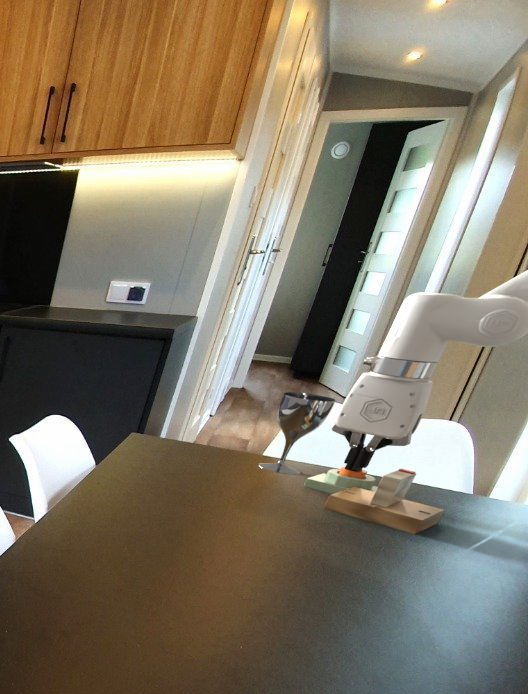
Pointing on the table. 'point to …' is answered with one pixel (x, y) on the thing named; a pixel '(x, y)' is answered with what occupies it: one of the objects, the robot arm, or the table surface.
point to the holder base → (384, 510)
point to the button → (353, 473)
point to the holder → (393, 487)
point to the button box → (339, 482)
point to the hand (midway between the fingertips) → (353, 469)
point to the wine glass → (298, 422)
